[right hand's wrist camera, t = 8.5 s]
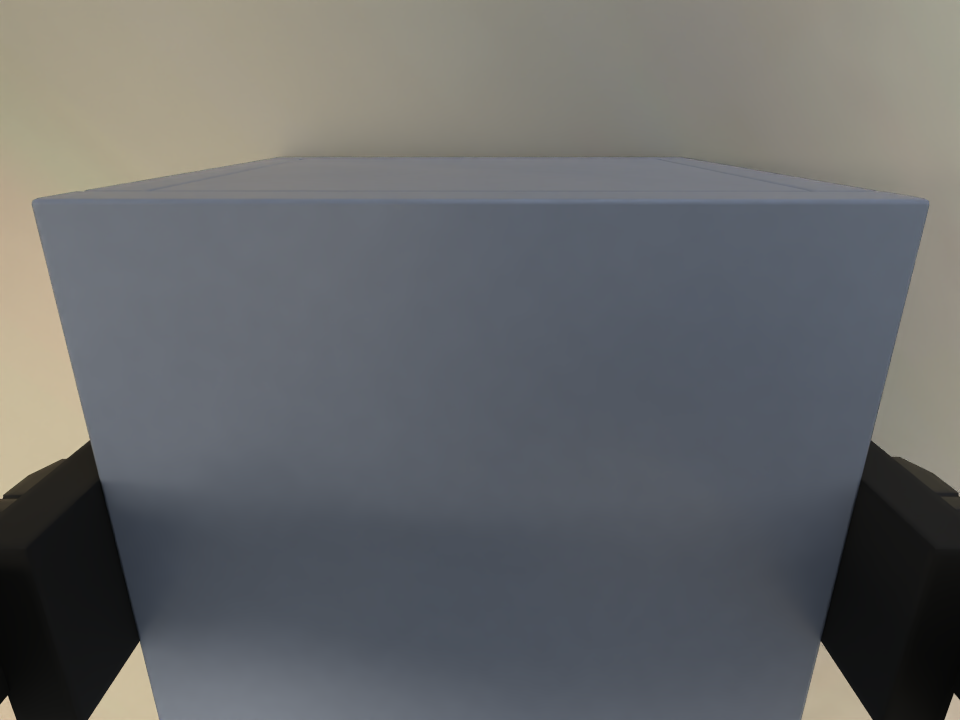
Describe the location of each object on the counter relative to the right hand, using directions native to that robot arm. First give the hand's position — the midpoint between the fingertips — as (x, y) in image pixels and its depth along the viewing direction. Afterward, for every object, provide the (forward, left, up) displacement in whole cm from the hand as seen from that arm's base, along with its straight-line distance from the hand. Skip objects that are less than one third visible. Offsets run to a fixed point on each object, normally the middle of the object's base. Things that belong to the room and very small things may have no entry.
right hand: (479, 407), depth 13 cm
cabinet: (+1, -5, -4) cm, 7 cm away
